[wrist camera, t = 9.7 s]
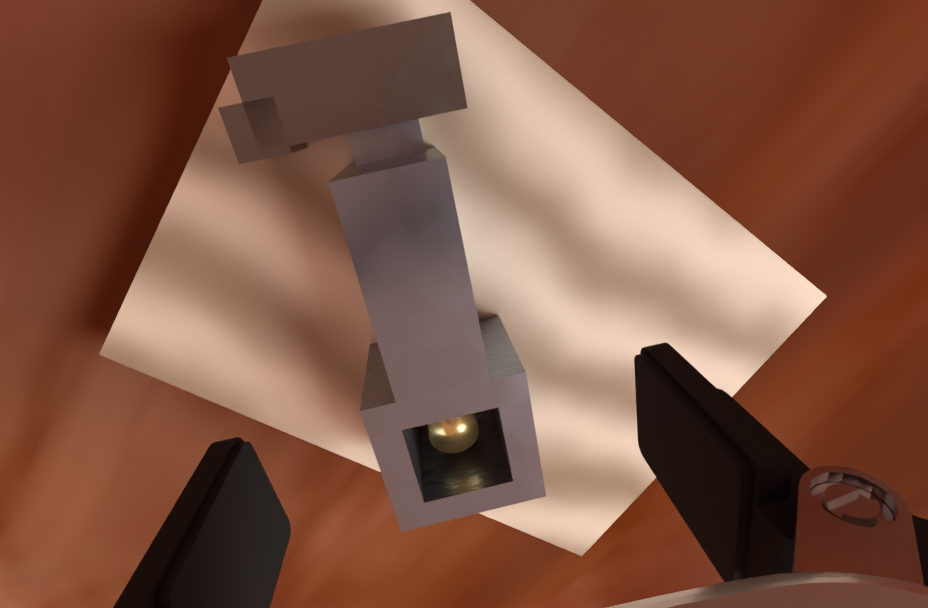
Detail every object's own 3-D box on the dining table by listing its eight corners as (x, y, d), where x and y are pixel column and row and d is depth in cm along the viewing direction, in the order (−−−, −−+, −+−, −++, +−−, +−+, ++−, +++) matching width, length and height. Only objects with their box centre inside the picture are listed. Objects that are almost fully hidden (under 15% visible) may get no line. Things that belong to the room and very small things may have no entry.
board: (328, -101, 19) (319, -124, 17) (799, 284, 28) (826, 296, 27) (121, 336, 25) (99, 354, 23) (572, 532, 34) (581, 556, 32)
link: (281, 61, 19) (230, 38, 13) (446, 27, 19) (464, -9, 14) (401, 447, 27) (401, 531, 22) (517, 419, 27) (546, 496, 22)
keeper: (247, 75, 21) (201, 62, 16) (440, 35, 21) (450, 11, 16) (274, 154, 22) (239, 164, 17) (454, 115, 22) (468, 115, 18)
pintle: (437, 343, 27) (446, 404, 21) (470, 361, 28) (488, 424, 22) (416, 374, 28) (419, 441, 22) (449, 391, 28) (460, 460, 23)
